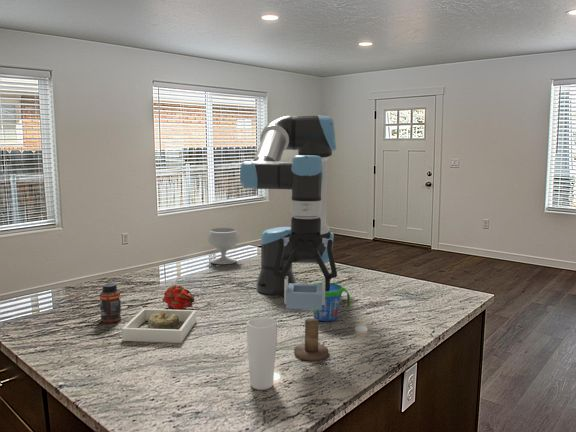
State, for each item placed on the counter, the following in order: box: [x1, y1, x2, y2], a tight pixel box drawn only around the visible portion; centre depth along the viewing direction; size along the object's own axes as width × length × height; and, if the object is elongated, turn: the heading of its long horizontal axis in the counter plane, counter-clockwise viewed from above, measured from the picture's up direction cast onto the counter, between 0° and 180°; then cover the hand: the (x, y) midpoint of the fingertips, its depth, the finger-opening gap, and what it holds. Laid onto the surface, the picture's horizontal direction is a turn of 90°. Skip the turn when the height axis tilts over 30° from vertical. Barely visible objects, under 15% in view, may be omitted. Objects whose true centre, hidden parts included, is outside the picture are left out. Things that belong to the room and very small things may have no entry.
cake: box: [147, 311, 182, 330], centre depth 145 cm, size 10×10×5 cm
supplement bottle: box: [99, 282, 122, 324], centre depth 150 cm, size 6×6×11 cm
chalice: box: [207, 227, 240, 265], centre depth 225 cm, size 14×14×15 cm
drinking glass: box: [246, 316, 278, 391], centre depth 110 cm, size 7×7×15 cm
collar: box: [285, 283, 322, 311], centre depth 127 cm, size 9×9×4 cm
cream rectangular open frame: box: [121, 308, 197, 344], centre depth 143 cm, size 17×17×4 cm
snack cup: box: [312, 282, 351, 322], centre depth 154 cm, size 16×10×10 cm
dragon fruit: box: [161, 284, 196, 310], centre depth 161 cm, size 8×8×12 cm
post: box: [293, 317, 329, 362], centre depth 128 cm, size 9×9×9 cm
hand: (304, 302), depth 127 cm, fingers closed on collar, 9 cm apart
